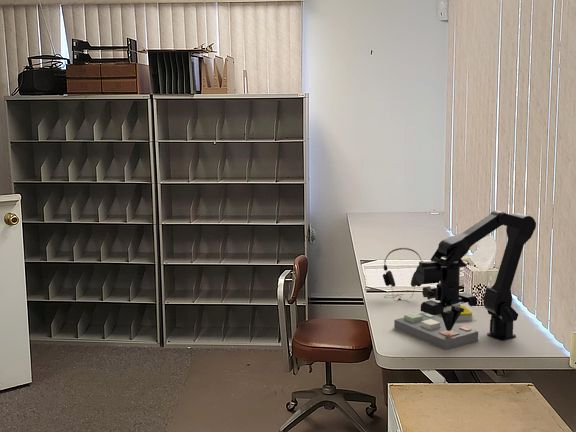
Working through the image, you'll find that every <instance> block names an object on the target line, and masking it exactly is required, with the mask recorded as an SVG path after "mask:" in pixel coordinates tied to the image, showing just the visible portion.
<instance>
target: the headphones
mask: <svg viewBox="0 0 576 432" xmlns="http://www.w3.org/2000/svg"><path fill="white" fill-rule="evenodd" d="M399 250H407V251H411V252H413V253H415V254H416V255H417V256H418V257H419V259H420V262H422V261H423V260H422V258H421V257H420V254H419V253H418V252H417V251H415V250H414V249H412V248H409V247H398V248H394V249H393V250H391V251H389V252H388V254H387V256H385V259H384V260H383V261H384V265H383V270H384V271H385V273H383V274H382V278H383V282H384V284H385V286H386V287H389V286H390V287H391V288H393V287H395V286H396V282H395V278H394V275H393V272H392V271H391V270H388V266H387V264H386V261H387V258H388V257H389V255H390V254H391V253H393V252H395V251H399ZM410 286H411V287H412V288H413V287H414V288H413V292H412V293H414V292H415V289H416V287H421V286H422V285H420V284H419V283H418V282H417V280H416V276H415V271H414V272H413V274H412V277H411V281H410ZM393 291H394V290H391V293H392V294H394V292H393ZM401 295H402V296H404V294H402V293H401V294H399V293H398V294H396V297H397V296H399V298H398V299H397V301H407V300H406V299H403V300H402V299H401V297H400V296H401ZM413 295H414V294H412V295H411V297H413ZM388 296H389V294H387V295H385V296H383V297H384V298H385V299H387V297H388ZM394 298H395V296H392V297H391V299H392V300H394V302H396V300H395V299H394Z"/></svg>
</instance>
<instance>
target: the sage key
mask: <svg viewBox="0 0 576 432" xmlns="http://www.w3.org/2000/svg"><path fill="white" fill-rule="evenodd" d="M419 314H420V313H415V312H411V313H407V314H403V318H404V320H406V321H409V322H411V323H416V322H420V321H423V316H422V315H419Z"/></svg>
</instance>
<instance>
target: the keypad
mask: <svg viewBox="0 0 576 432" xmlns="http://www.w3.org/2000/svg"><path fill="white" fill-rule="evenodd" d="M418 314H419V315H422V316H423V321H425V320H429V319H432V320H435V321H437V322H440V328H436V329H433V330H429V329H426V328H424V327H421V321H420V322H416V323H411V322H409V321H406V320H404V317H399V318H396V319H394V323H393V324H394V326H393V327H394V328H393V329H395V330H398V331H400V332H402V333H404V334H406V335H409V336H411V337H414V338H416V339H419V340H421V341H423V342H425V343H427V344H430V345H432V346H435V347H436V348H440V349H442V350H444V351H446V350H450V349H454V348H457V347H461V346H463V345H467V344H471V343H474V342H477V341H479V331H478V330H476V329H473V328H470V327H468V326H466V325H462V324H460V323H458V322H455V324H454V326H453V327H452V329H451V331H454V332H456V333H459V335H456V336H453V337H446V336H444V335H441V334H439V332H442V331H446V327H445V324H444V321H443V318H441V317H438V316H436V315H430V314H428V313H425V312H420V313H418Z"/></svg>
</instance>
